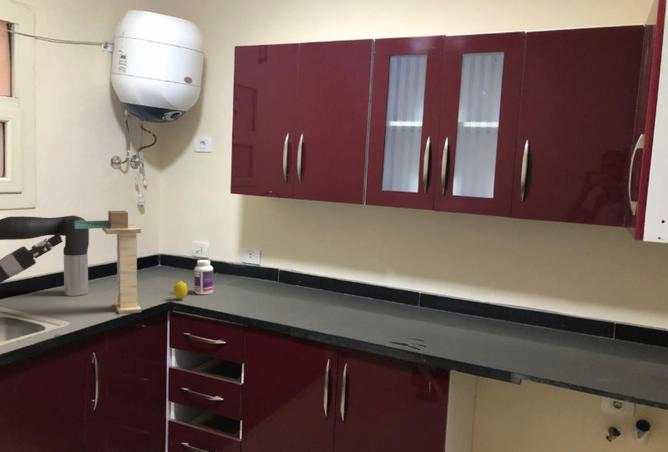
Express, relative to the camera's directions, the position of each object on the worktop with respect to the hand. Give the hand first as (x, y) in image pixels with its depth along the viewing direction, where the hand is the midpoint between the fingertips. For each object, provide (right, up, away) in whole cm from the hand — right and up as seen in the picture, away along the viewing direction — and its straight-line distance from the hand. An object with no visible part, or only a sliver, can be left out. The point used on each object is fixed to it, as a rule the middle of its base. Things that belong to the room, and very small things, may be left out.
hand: (60, 237), depth 202 cm
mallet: (+12, +3, +7) cm, 14 cm away
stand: (+17, -28, +14) cm, 36 cm away
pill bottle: (+42, -26, +43) cm, 65 cm away
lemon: (+35, -27, +30) cm, 54 cm away
